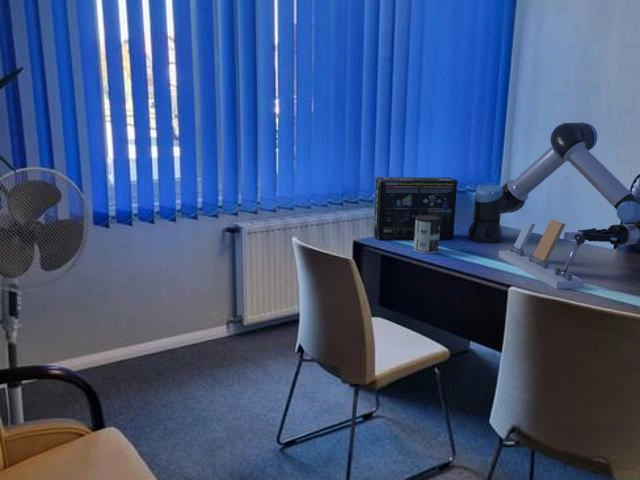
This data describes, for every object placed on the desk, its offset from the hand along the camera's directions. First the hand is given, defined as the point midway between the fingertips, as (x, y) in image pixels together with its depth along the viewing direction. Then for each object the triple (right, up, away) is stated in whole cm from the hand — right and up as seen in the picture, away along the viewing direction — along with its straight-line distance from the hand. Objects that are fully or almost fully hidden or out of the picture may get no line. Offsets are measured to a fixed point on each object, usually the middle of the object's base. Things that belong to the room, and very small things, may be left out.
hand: (565, 236), depth 203 cm
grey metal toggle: (-7, -13, -14) cm, 20 cm away
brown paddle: (-10, -9, +1) cm, 13 cm away
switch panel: (-10, -13, +2) cm, 16 cm away
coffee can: (-46, -6, +26) cm, 53 cm away
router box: (-48, 0, +48) cm, 68 cm away
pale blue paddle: (-12, -5, +15) cm, 20 cm away
